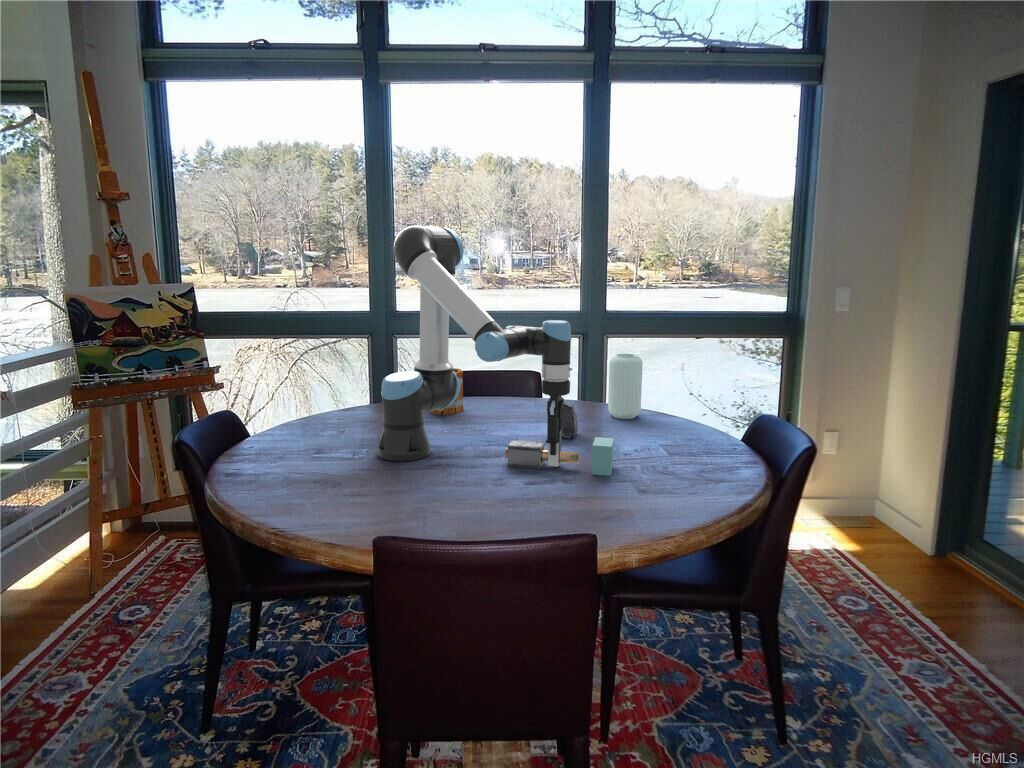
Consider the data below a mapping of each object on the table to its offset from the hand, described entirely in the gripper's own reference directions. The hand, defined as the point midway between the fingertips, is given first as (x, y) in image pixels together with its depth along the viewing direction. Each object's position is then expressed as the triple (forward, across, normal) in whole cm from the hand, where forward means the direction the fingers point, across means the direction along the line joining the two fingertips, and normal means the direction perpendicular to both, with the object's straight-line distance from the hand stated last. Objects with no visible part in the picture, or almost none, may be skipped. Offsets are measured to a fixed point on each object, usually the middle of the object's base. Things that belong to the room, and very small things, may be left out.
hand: (554, 462), depth 178 cm
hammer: (0, 0, +3) cm, 4 cm away
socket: (+1, 0, -13) cm, 13 cm away
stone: (+1, +33, +2) cm, 33 cm away
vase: (+1, +61, -16) cm, 63 cm away
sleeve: (+1, 0, +8) cm, 8 cm away
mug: (+1, +52, +49) cm, 72 cm away
